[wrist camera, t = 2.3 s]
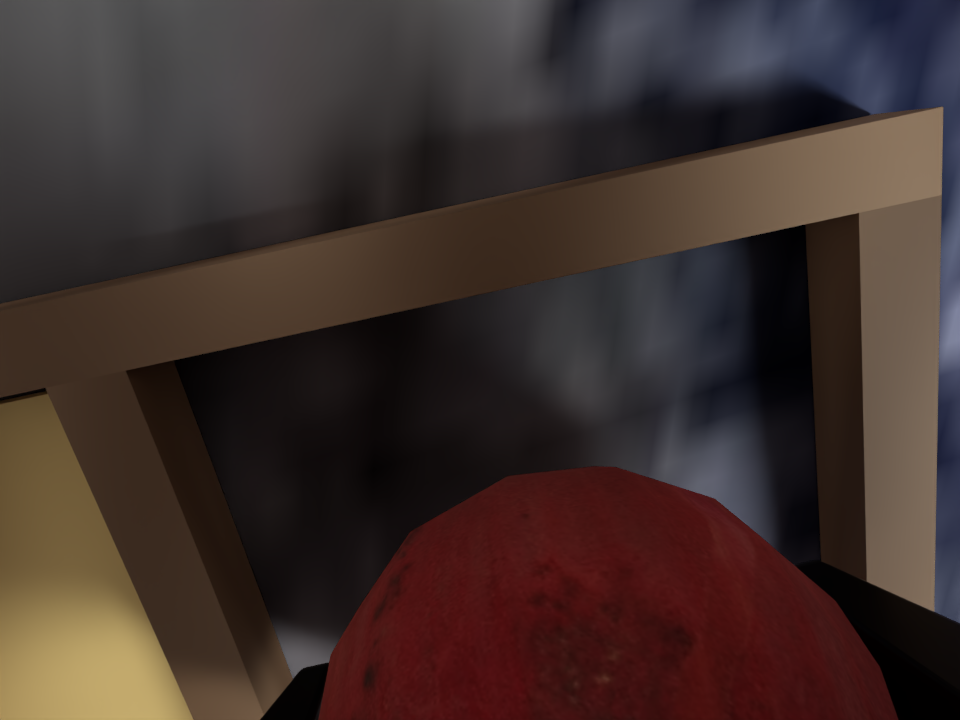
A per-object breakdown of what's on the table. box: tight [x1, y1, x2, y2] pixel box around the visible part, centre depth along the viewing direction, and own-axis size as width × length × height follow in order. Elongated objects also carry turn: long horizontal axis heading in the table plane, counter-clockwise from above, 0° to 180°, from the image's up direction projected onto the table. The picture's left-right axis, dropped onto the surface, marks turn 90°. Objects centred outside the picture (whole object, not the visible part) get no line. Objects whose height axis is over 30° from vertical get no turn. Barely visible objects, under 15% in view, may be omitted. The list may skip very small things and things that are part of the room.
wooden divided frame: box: [0, 107, 943, 720], centre depth 10 cm, size 21×11×1 cm, turn 102°
